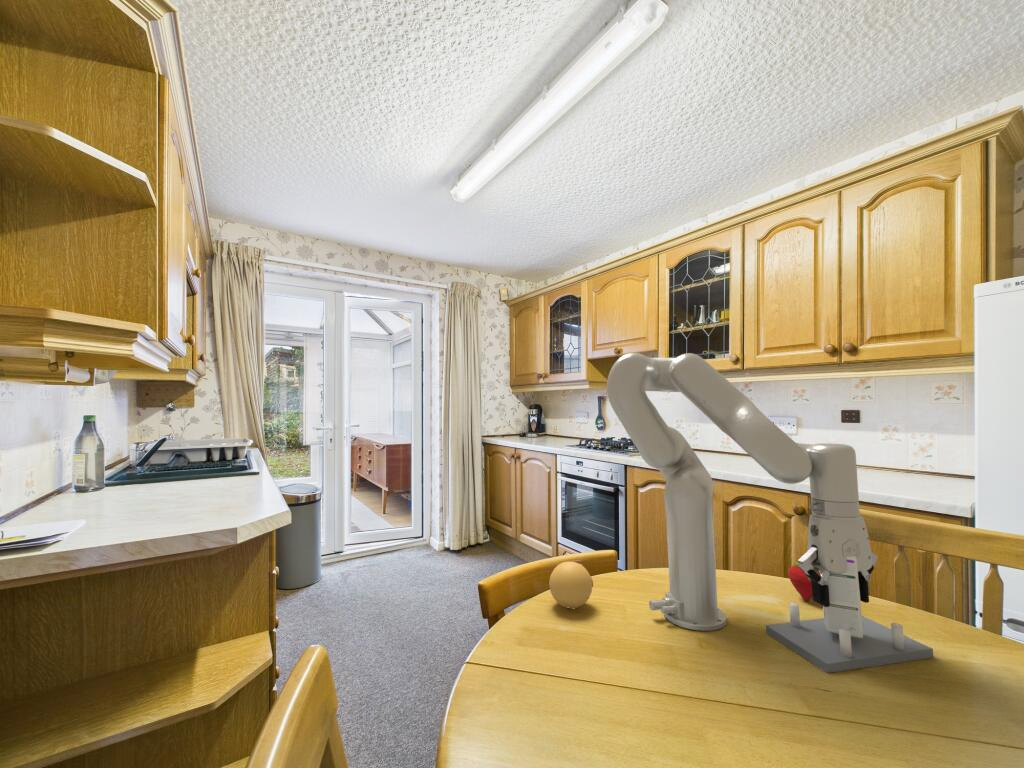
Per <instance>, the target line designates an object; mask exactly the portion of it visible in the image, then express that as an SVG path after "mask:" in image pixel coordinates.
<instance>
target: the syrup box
mask: <svg viewBox="0 0 1024 768" xmlns="http://www.w3.org/2000/svg"><path fill="white" fill-rule="evenodd" d="M846 556H847V558H846V559H847V572H845V573H839V574H833V573H830V574H829V576H828V578H827V581H826V583H825V584H826V585H828V587H829V601H830V606H829V607H824V606H822V611H823V618H824V621H825V627H826V630H827V631H830V632H834V633H838V634H839V630H840V629H844V630H847V631H849V632H850V635H851V636H853V637H858V638H863V627H862V616H863V615H862V601H860V590H859V580H858V569H857V558H856V556H855V555H846ZM820 566H821V563H820ZM821 572H822V570H819V573H821Z"/></svg>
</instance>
